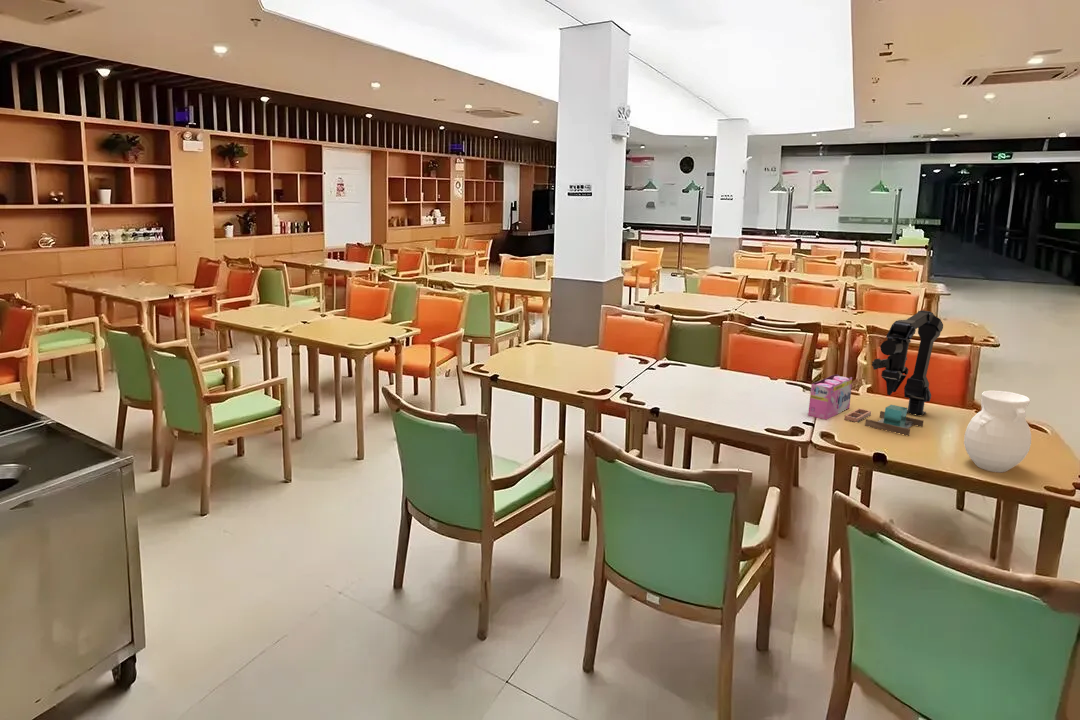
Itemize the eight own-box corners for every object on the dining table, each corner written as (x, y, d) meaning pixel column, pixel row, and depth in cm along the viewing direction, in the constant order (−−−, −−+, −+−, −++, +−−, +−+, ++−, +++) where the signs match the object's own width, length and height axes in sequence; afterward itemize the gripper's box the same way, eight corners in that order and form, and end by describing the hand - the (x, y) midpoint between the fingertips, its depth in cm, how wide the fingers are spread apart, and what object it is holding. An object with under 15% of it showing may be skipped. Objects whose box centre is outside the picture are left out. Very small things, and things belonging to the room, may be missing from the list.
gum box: (832, 403, 302) (836, 373, 298) (851, 407, 296) (855, 377, 293) (807, 415, 285) (810, 383, 282) (826, 420, 280) (830, 387, 277)
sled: (886, 418, 281) (889, 401, 280) (913, 424, 274) (915, 407, 273) (874, 425, 273) (876, 408, 271) (901, 432, 266) (904, 414, 264)
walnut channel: (880, 416, 285) (881, 411, 284) (922, 426, 274) (923, 420, 273) (864, 425, 274) (865, 419, 273) (908, 436, 263) (909, 429, 262)
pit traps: (858, 412, 290) (858, 408, 289) (870, 415, 286) (871, 411, 286) (844, 419, 280) (844, 415, 280) (856, 422, 277) (857, 418, 276)
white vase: (1039, 477, 226) (1053, 403, 220) (985, 478, 225) (998, 404, 219) (998, 455, 244) (1010, 387, 238) (947, 456, 243) (959, 387, 237)
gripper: (881, 348, 280) (874, 386, 283) (870, 352, 266) (863, 392, 269) (911, 353, 274) (904, 392, 277) (902, 357, 259) (895, 398, 262)
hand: (891, 393), depth 271 cm, fingers open, 9 cm apart
